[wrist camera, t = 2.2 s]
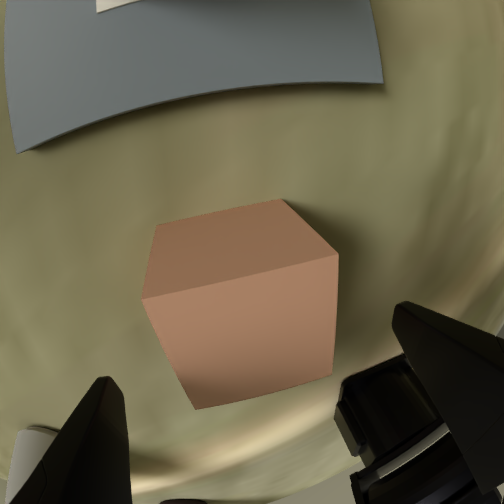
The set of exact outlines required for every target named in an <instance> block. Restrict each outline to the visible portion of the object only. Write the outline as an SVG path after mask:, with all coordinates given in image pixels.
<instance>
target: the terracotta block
mask: <svg viewBox="0 0 504 504" xmlns="http://www.w3.org/2000/svg"><path fill="white" fill-rule="evenodd" d="M338 261H339V254H338V253H337V252H336V251H335V250H334V249H333V248H332V247H331V246H330V245H329V244H328V243H327V242H326V241H325V240H324V239H323V238H322V237H321V236H320V235H319V234H318V233H317V232H316V231H315V230H314V229H313V228H312V227H311V226H309V225H308V224H307V223H306V222H305V221H304V220H303V219H302V218H301V217H300V216H299V215H298V214H297V213H296V212H295V211H294V210H293V209H291V208H290V207H289V206H288V205H287V204H286V203H285V202H284V201H283V200H282V199H278V200H272V201H267V202H262V203H257V204H252V205H247V206H242V207H237V208H232V209H227V210H223V211H218V212H213V213H209V214H204V215H200V216H195V217H191V218H186V219H182V220H178V221H173V222H169V223H165V224H161V225H157V226H156V231H155V235H154V239H153V244H152V248H151V252H150V257H149V262H148V267H147V272H146V277H145V282H144V287H143V292H142V298H141V300H142V303H143V305H144V307H145V310H146V312H147V314H148V317H149V319H150V321H151V323H152V326H153V328H154V330H155V332H156V334H157V337H158V339H159V341H160V343H161V345H162V347H163V349H164V351H165V353H166V356H167V358H168V360H169V362H170V364H171V366H172V368H173V369H174V371H175V373H176V375H177V377H178V379H179V381H180V383H181V385H182V387H183V389H184V390H185V392H186V394H187V396H188V398H189V399H190V401H191V403H192V405H193V407H194V408H195V410H197V409H203V408H208V407H214V406H219V405H224V404H228V403H233V402H238V401H242V400H246V399H250V398H255V397H259V396H263V395H266V394H270V393H274V392H278V391H281V390H285V389H288V388H292V387H295V386H298V385H302V384H305V383H308V382H311V381H314V380H317V379H320V378H323V377H326V376H329V375H332V368H333V357H334V345H335V332H336V316H337V296H338Z"/></svg>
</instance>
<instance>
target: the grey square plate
mask: <svg viewBox="0 0 504 504" xmlns="http://www.w3.org/2000/svg"><path fill="white" fill-rule="evenodd" d="M4 60H5V79H6V91H7V100H8V108H9V115H10V122H11V128H12V134H13V139H14V144H15V149H16V153H17V154H19V153H22V152H25V151H28V150H30V149H32V148H35V147H37V146H39V145H41V144H43V143H46V142H48V141H50V140H53V139H55V138H57V137H60V136H62V135H65V134H67V133H70V132H72V131H75V130H77V129H80V128H83V127H85V126H88V125H91V124H94V123H97V122H100V121H103V120H106V119H109V118H112V117H115V116H118V115H121V114H125V113H128V112H132V111H135V110H139V109H142V108H146V107H150V106H154V105H158V104H162V103H166V102H171V101H175V100H180V99H185V98H190V97H195V96H200V95H206V94H211V93H218V92H224V91H231V90H238V89H246V88H255V87H265V86H277V85H292V84H318V83H346V84H384V83H383V75H382V67H381V59H380V53H379V46H378V40H377V35H376V29H375V24H374V19H373V15H372V10H371V6H370V1H369V0H7V3H6V14H5V32H4Z"/></svg>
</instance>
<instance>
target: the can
mask: <svg viewBox="0 0 504 504" xmlns="http://www.w3.org/2000/svg"><path fill="white" fill-rule="evenodd" d="M57 434H58V432H55V431H52V430H49V429H46V428H41V427H29V428H27V429H23V430H20V431H18V434H17V437H16V441H15V446H14V450H13V455H12V460H11V465H10V471H9V477H8V484H7V492H6V500H5V504H9V503H10V501H11V500H12V499H13V498H14V496H15V495H16V494H17V492H18V491H19V490H20V489H21V487H22V486H23V485H24V483H25V482H26V481H27V479H28V478H29V476H30V475H31V473H32V472H33V470H34V469H35V467H36V466H37V464H38V463H39V461H40V460H41V459H42V457H43V455H44V454H45V452H46V451H47V449H48V448H49V446H50V445H51V443H52V442H53V440H54V439H55V437H56V436H57Z"/></svg>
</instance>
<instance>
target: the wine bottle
mask: <svg viewBox="0 0 504 504" xmlns="http://www.w3.org/2000/svg"><path fill="white" fill-rule="evenodd" d="M160 504H207V503H206V502H203V501H198V500H187V499H179V500H168V501H164V502H161V503H160Z"/></svg>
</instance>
